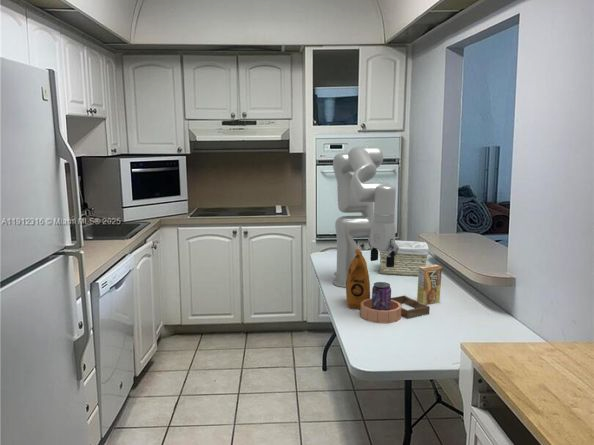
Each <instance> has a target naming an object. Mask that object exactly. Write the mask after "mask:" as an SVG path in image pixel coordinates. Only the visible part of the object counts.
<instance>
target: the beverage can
mask: <svg viewBox="0 0 594 445" xmlns="http://www.w3.org/2000/svg"><path fill="white" fill-rule="evenodd" d="M371 298H372V309H374V310H383V311H388V310H391V298H392V287H391V284H390V283H389V282H387V281H385V282H384V281H377V282H374V283H373V286H372V289H371Z"/></svg>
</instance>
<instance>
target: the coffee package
mask: <svg viewBox="0 0 594 445" xmlns="http://www.w3.org/2000/svg"><path fill="white" fill-rule="evenodd" d="M355 253H356V254H357V255H356V256H355V258H354V259H353V261H352V262H351V264H350V265H349V269H348V274H347V280H346V287H345V291H346V293H345V294H346V302H347V307H348V308H349V309H355V310H357V309H360V306H361V302H362V301H363V300H365V299H370V298H371V284H370V274H369V270H368V269H369V268H368V264H367V261H366V258H365V257H364V255H363V252H362V251H361V250H360V248H358V249H356V250H355Z"/></svg>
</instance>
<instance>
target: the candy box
mask: <svg viewBox="0 0 594 445" xmlns="http://www.w3.org/2000/svg"><path fill="white" fill-rule="evenodd" d="M442 270H443V267H442V266H440V265H439V264H430V265H426V266H421V267H419V276H417V278H418V279H417V280H418V282H417V294H416V295H417V297H416V301H418V302H420V303H423V304H425V305H429V304H431V305H432V304H436V303H440V298H441V285H442V274H443V273H442Z"/></svg>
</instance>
